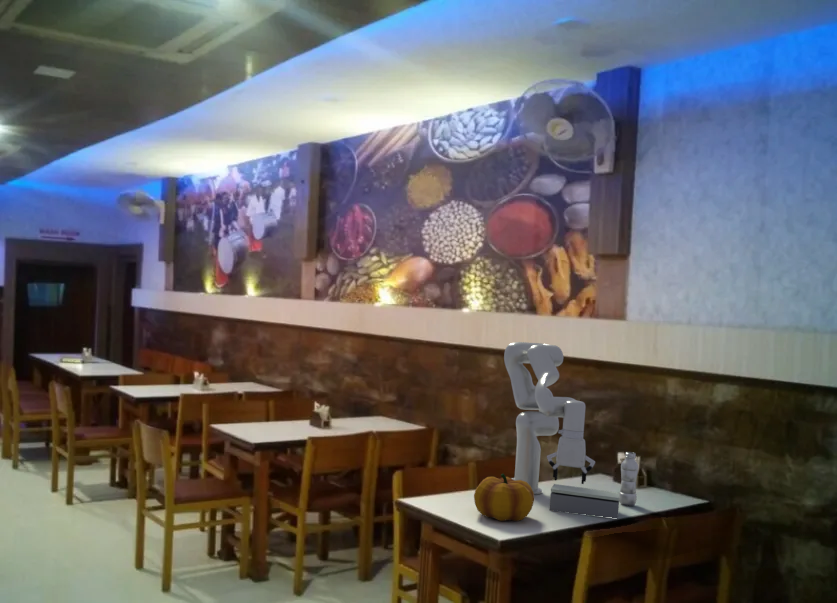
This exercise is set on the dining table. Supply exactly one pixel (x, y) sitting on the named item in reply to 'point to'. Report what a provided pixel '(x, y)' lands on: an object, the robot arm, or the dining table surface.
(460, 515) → the dining table surface
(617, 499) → the cover
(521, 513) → the decorative pumpkin
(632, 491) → the plastic bottle
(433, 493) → the dining table surface
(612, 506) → the grey rectangular box
